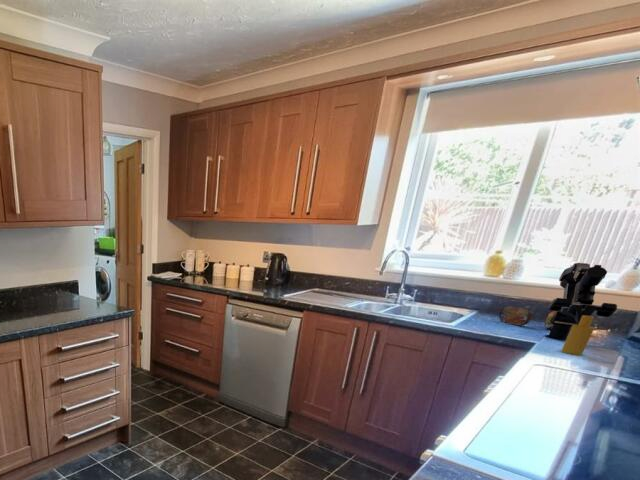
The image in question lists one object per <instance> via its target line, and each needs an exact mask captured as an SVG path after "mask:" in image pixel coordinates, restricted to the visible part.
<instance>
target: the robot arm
mask: <svg viewBox="0 0 640 480" xmlns="http://www.w3.org/2000/svg"><path fill="white" fill-rule="evenodd" d="M607 274H608V270H607V269H606V268H604V267H602V265H601V264H594V265H593V266H591V264H590V263H587V262H586V263H584V262H575V263H573V265H572V266H569V267H567V268H565V269H564V270H563V271H562V273H561V274H560V275H559V279H558V281H559V285H560V287H561V288H562V289H563V296H562V297H555V298H553V300H552V301H551V302H550V304H549V306H548V310H549V311H551V312H554V311H556V312H555V314H554V315H553V317H552V318H551V321H550V323H551V324H554V325H553V327H552V329H550V331H549V333H548V334H545V335H544V337H547V338H552V339H555V340H560V341H562V340H563V341H566V339H567V337H568V335H569V332H570V330H571V328H572V326H573V325H574V324H577V325H578V324H579V322H580V320H581V317H582V315H585V316H593V314H594V312H596V313H595V314H596V315H597V316H598V317H603V318H609V317H612V315H614V313H615V312H616V311H617V309H618V305H617V303H611V302H602V304H601V305H598V304H593V303H594V302H595V300H594V297H595V295H596V286H599V284H600V283H601V282H602V280H604V279H605V277H606V275H607ZM555 321H558V322H555ZM563 322H566V323H563ZM571 323H574V324H571Z"/></svg>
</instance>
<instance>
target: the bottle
mask: <svg viewBox="0 0 640 480" xmlns="http://www.w3.org/2000/svg"><path fill="white" fill-rule="evenodd" d="M594 318H595V317H594V316H593V315H590V316H585V315H582V317H581V320H580V322H579V324H578V325H577V324H574V325H573V326H572V328H571V330H570V332H569V334H568V337H567V339H566V340H564V343H563V345H562V348H561V352H562V353H565V354H569V355H575V356H582V355H583V354H584V352H585V349H586V347H587V345H588V343H589V341H590V339H591V336H592V334H593V333H594V330H595V327H594V326H592V322H593V320H594Z"/></svg>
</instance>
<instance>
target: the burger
mask: <svg viewBox="0 0 640 480" xmlns="http://www.w3.org/2000/svg"><path fill="white" fill-rule="evenodd" d="M555 312H556V311H551V312H549V313H548V316H547V317H546V318H545V321H544V328H546V329H548V330H551V329H552V327H553V325H554V324H551V323H550V321H551V318H552V317H553V315H554V314H555ZM555 322H558V321H555ZM563 323H566V322H563ZM571 324H574V323H571Z"/></svg>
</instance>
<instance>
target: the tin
mask: <svg viewBox="0 0 640 480" xmlns="http://www.w3.org/2000/svg"><path fill="white" fill-rule="evenodd" d="M532 317H533V314H532V312H531V310H529V309H527V308H526V309H525V308H520V307H516V306H511V305H508V306H505V307H503V308H502V309H500V311H499V314H498V318H499V321H501V322H503V323H505V324H511V325H514V326H526V325H527V324H529V323H530V321H531V319H532Z"/></svg>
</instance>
